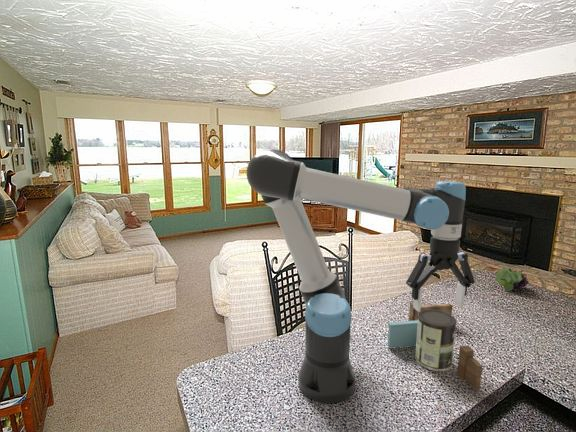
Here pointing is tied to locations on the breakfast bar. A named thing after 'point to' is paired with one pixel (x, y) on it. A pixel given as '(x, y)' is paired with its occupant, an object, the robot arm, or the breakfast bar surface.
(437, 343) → the coffee can
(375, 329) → the breakfast bar surface
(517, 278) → the green and purple plant
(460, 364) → the fence
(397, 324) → the light blue flat block
